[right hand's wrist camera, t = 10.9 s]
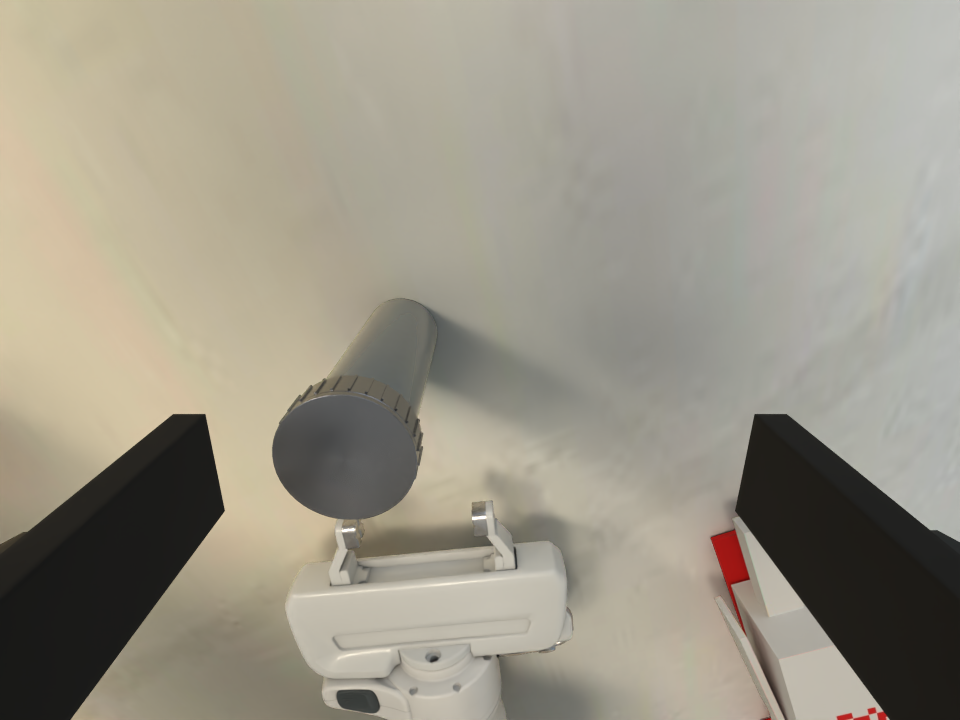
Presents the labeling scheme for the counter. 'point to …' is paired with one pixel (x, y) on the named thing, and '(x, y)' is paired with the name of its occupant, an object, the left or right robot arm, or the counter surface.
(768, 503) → the right robot arm
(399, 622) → the left robot arm
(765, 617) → the toy
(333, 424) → the lid
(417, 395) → the jar
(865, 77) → the counter surface
